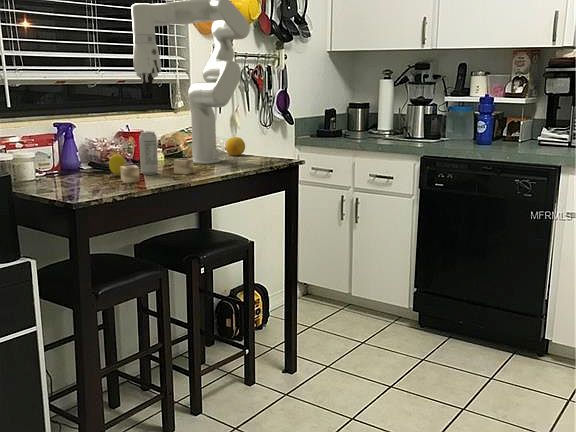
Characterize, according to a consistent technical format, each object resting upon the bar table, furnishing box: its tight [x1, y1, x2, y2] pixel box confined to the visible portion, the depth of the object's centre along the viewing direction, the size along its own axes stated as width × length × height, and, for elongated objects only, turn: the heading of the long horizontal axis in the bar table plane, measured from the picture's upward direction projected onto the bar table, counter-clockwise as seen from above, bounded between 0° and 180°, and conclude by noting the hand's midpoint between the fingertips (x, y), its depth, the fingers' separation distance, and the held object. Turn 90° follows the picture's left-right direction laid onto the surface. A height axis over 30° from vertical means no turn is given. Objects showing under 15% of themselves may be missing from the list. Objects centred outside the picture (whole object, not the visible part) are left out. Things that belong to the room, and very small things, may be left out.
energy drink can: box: [138, 130, 159, 176], centre depth 224 cm, size 6×6×15 cm
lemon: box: [108, 152, 126, 176], centre depth 221 cm, size 6×6×8 cm
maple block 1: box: [120, 164, 141, 184], centre depth 211 cm, size 5×5×5 cm
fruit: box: [224, 136, 246, 157], centre depth 270 cm, size 9×8×8 cm
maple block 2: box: [173, 157, 194, 175], centre depth 228 cm, size 5×5×5 cm
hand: (148, 93), depth 225 cm, fingers closed
